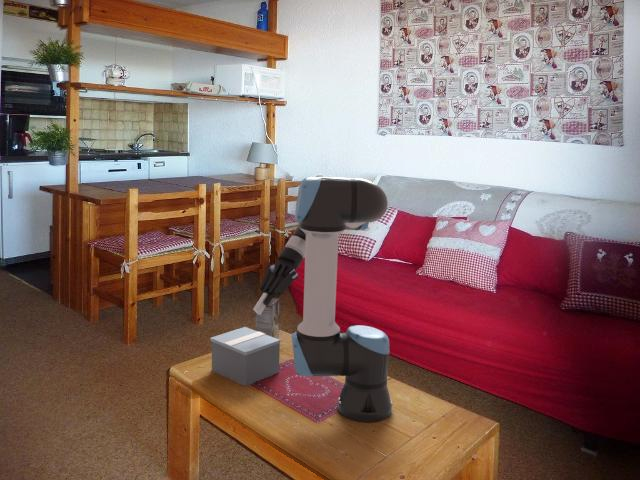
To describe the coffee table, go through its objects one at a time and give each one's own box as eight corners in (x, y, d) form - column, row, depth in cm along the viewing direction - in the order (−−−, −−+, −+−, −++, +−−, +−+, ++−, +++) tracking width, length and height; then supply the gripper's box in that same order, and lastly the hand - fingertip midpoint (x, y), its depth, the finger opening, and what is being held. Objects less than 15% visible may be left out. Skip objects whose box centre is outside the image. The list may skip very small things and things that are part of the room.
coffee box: (262, 339, 222) (263, 296, 219) (279, 341, 221) (280, 298, 217) (254, 348, 213) (255, 304, 210) (272, 350, 212) (273, 306, 209)
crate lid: (280, 342, 192) (280, 339, 191) (245, 355, 181) (245, 351, 181) (244, 329, 202) (244, 326, 202) (210, 340, 191) (210, 337, 191)
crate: (278, 373, 194) (279, 343, 192) (245, 386, 183) (246, 354, 181) (245, 358, 204) (245, 330, 202) (211, 370, 194) (211, 340, 192)
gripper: (314, 262, 201) (277, 323, 192) (285, 256, 209) (248, 313, 200) (303, 249, 196) (265, 310, 187) (274, 243, 204) (236, 301, 195)
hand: (256, 312), depth 193 cm, fingers closed
